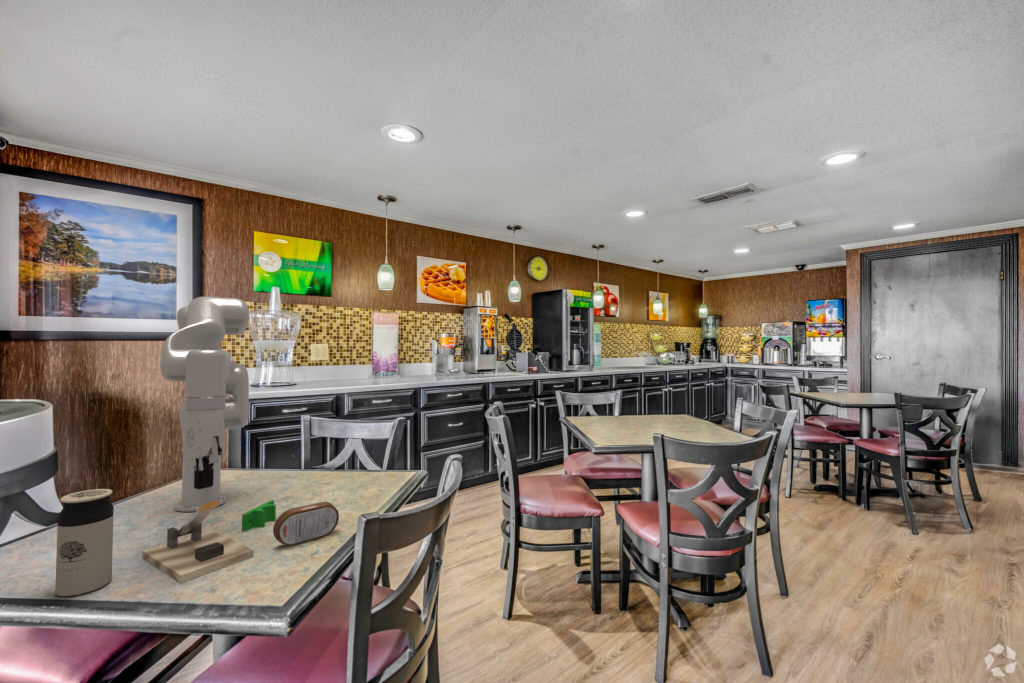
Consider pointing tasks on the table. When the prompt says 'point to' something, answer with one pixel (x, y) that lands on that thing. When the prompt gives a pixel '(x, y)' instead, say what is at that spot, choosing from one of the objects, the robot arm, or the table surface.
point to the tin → (305, 523)
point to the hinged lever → (197, 518)
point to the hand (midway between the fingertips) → (203, 487)
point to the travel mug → (84, 542)
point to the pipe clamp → (259, 516)
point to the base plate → (187, 554)
